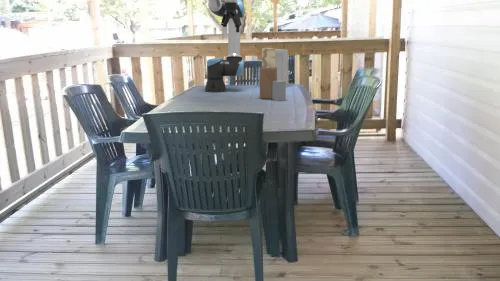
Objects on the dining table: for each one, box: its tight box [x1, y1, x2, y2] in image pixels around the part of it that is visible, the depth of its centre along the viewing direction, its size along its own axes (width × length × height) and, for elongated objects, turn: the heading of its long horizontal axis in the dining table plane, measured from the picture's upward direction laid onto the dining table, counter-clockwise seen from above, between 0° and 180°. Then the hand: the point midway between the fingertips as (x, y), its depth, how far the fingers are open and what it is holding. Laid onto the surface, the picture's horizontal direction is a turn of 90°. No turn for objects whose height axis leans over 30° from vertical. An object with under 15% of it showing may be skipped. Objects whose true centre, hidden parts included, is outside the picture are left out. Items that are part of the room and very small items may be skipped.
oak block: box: [261, 47, 276, 68], centre depth 293 cm, size 6×6×12 cm
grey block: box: [271, 80, 287, 102], centre depth 290 cm, size 6×6×12 cm
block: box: [259, 66, 277, 100], centre depth 297 cm, size 10×10×20 cm
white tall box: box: [275, 48, 289, 88], centre depth 351 cm, size 19×15×28 cm
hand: (231, 37), depth 285 cm, fingers open, 13 cm apart
